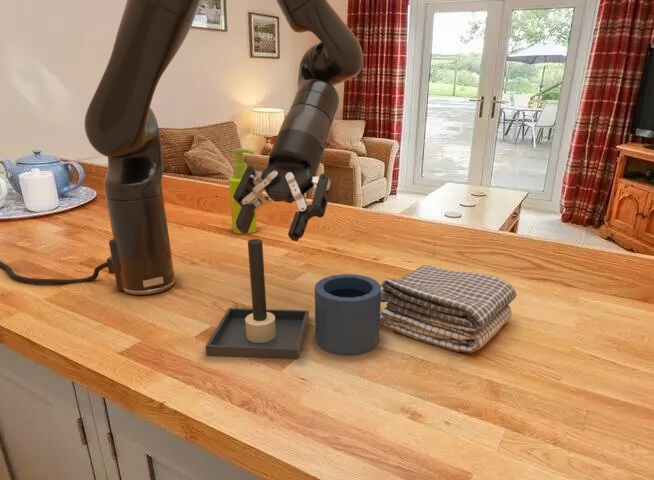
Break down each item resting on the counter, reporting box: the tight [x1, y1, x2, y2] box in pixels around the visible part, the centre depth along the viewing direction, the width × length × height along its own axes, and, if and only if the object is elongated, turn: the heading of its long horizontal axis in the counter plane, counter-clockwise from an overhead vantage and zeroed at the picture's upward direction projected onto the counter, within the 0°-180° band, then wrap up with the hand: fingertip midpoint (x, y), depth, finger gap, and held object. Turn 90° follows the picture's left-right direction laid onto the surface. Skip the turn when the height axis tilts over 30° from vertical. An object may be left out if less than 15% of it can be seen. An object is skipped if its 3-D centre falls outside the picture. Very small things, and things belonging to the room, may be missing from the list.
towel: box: [380, 265, 517, 353], centre depth 78 cm, size 15×18×8 cm
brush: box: [245, 238, 276, 343], centre depth 71 cm, size 4×4×15 cm
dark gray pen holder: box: [314, 273, 382, 357], centre depth 72 cm, size 9×9×9 cm
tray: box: [205, 307, 310, 360], centre depth 74 cm, size 13×12×2 cm
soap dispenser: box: [228, 148, 258, 235], centre depth 119 cm, size 6×7×20 cm
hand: (266, 234), depth 71 cm, fingers open, 8 cm apart
